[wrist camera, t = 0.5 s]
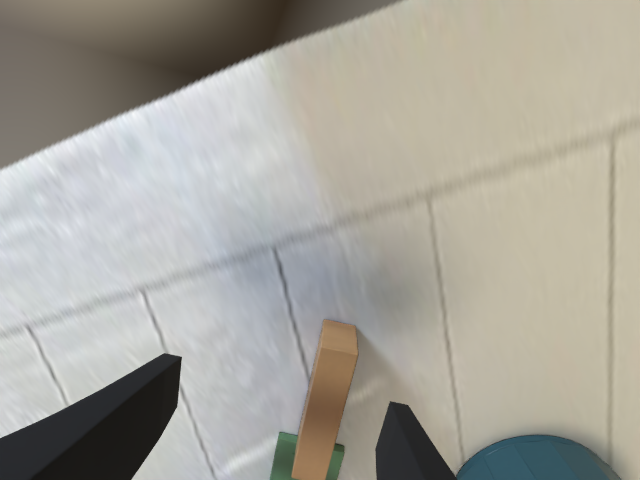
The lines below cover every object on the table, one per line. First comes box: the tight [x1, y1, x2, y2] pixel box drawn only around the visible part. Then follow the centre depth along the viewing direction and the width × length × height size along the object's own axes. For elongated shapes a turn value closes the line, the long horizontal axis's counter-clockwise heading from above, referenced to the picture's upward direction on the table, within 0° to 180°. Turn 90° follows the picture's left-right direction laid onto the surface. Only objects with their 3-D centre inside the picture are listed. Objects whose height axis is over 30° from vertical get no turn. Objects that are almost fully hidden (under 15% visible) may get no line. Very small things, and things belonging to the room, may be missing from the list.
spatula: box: [270, 319, 358, 480], centre depth 21 cm, size 16×5×3 cm, turn 169°
